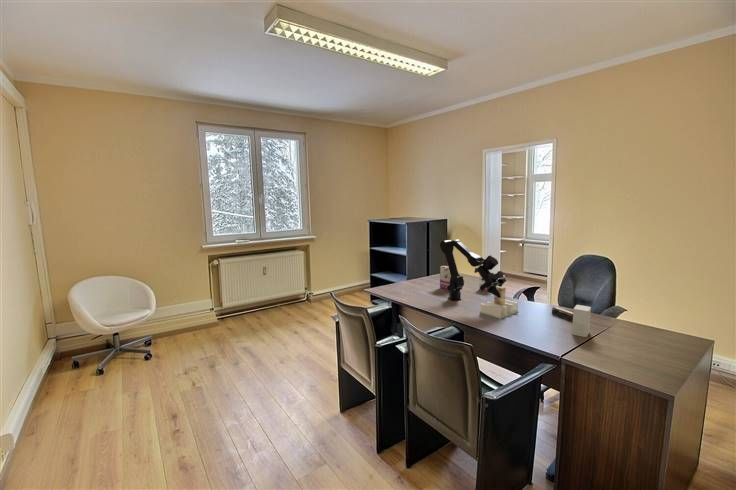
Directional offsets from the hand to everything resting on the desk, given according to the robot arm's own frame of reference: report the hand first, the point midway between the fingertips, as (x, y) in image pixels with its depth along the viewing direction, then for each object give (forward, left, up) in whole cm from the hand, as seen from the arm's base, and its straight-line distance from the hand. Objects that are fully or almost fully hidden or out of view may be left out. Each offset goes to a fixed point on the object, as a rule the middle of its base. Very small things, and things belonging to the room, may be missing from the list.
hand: (501, 296), depth 198 cm
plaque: (0, +1, -7) cm, 7 cm away
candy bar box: (-3, +55, -10) cm, 56 cm away
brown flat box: (+29, -15, -10) cm, 34 cm away
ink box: (+21, +44, -10) cm, 50 cm away
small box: (+18, -37, -10) cm, 42 cm away
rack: (0, +1, -10) cm, 10 cm away
